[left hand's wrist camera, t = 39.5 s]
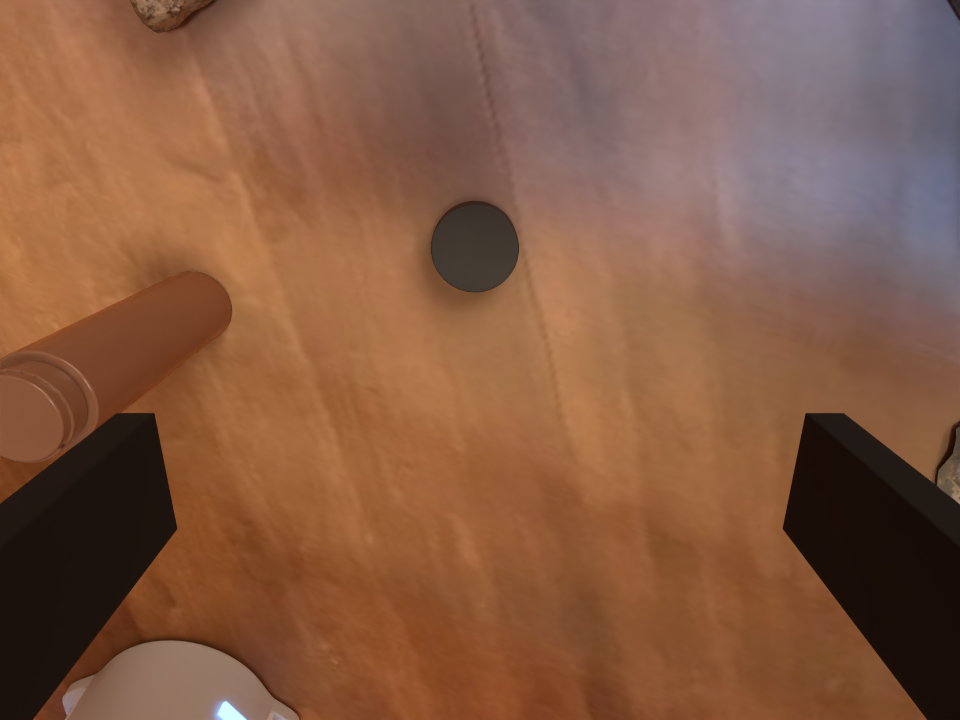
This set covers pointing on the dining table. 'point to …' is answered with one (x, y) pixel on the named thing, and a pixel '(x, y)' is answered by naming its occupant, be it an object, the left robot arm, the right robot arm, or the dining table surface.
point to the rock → (165, 12)
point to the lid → (475, 246)
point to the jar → (104, 364)
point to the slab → (951, 472)
